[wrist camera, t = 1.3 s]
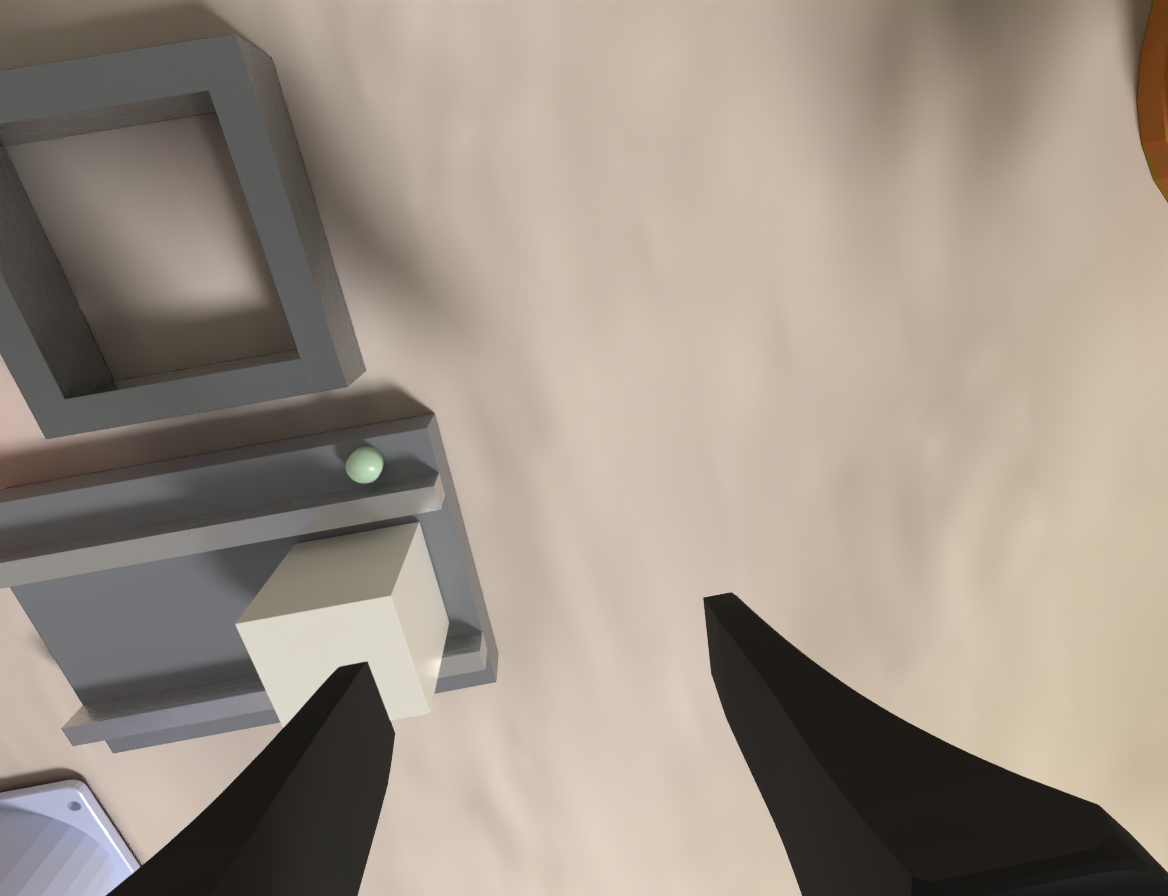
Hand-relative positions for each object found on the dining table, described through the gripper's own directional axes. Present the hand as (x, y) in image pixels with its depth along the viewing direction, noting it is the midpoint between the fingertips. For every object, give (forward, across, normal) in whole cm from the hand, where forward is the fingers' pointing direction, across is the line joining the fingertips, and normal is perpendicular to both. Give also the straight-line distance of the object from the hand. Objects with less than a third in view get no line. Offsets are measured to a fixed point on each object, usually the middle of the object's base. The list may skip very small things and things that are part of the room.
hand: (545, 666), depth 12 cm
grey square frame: (+9, +9, -10) cm, 16 cm away
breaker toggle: (+7, +6, +2) cm, 9 cm away
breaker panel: (+9, +10, +1) cm, 13 cm away
